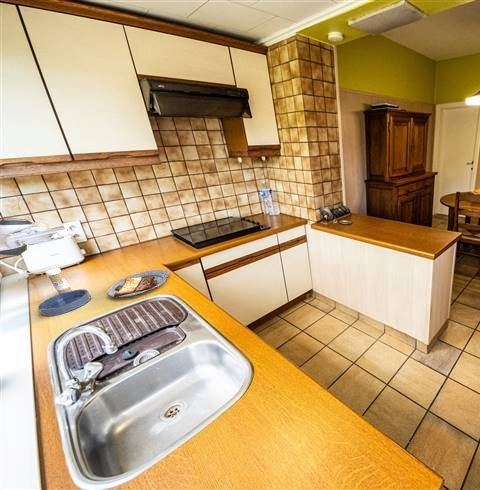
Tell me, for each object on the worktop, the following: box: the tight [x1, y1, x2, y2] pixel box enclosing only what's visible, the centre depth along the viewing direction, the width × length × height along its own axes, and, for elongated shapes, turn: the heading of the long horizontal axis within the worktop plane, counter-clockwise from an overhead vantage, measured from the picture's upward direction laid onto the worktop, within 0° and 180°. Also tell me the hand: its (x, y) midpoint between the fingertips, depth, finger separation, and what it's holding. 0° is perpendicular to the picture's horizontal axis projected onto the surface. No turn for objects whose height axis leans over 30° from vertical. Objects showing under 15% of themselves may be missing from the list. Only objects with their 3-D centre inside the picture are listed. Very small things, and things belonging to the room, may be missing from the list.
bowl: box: [37, 288, 92, 317], centre depth 120 cm, size 16×16×4 cm
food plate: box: [106, 269, 171, 299], centre depth 132 cm, size 25×23×4 cm
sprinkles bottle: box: [44, 267, 73, 295], centre depth 127 cm, size 5×5×13 cm
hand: (38, 240), depth 126 cm, fingers open, 8 cm apart
